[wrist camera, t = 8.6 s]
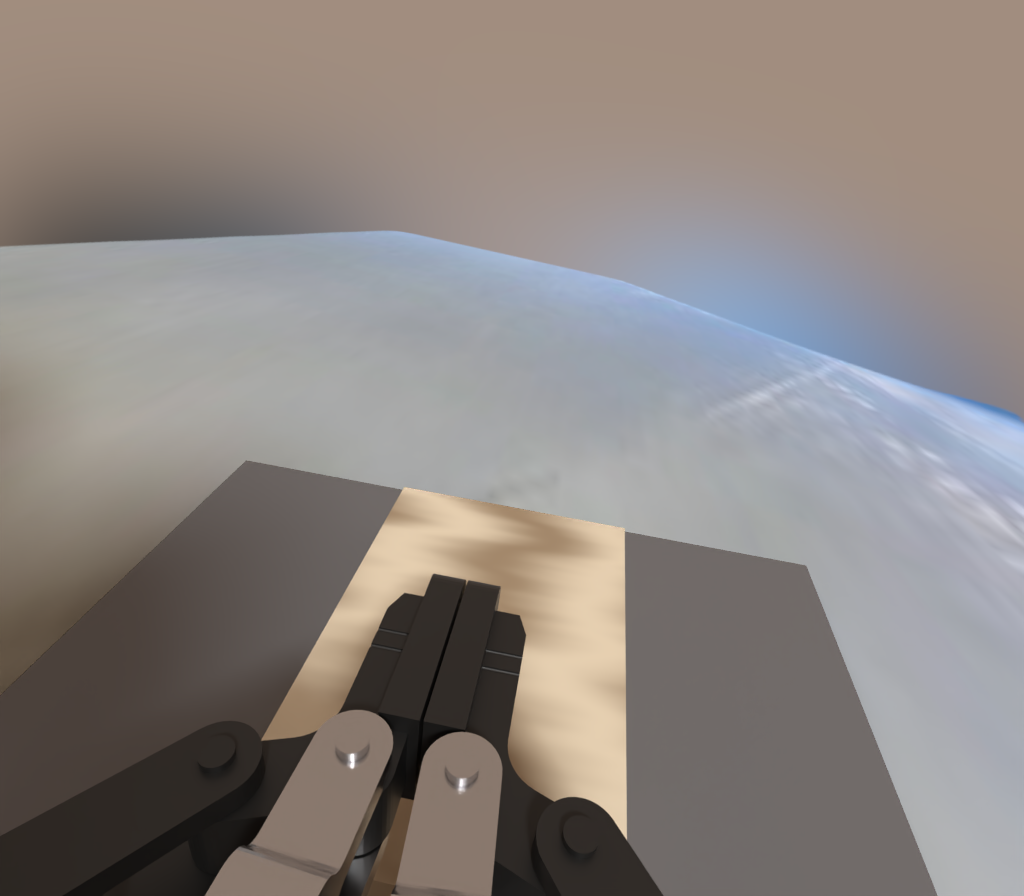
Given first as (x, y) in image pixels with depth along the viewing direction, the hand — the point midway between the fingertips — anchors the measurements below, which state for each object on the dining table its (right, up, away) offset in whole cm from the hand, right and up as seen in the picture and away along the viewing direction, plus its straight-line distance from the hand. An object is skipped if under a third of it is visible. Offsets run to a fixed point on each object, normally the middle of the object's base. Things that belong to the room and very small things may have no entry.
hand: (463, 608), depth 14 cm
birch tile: (-1, -6, 0) cm, 7 cm away
